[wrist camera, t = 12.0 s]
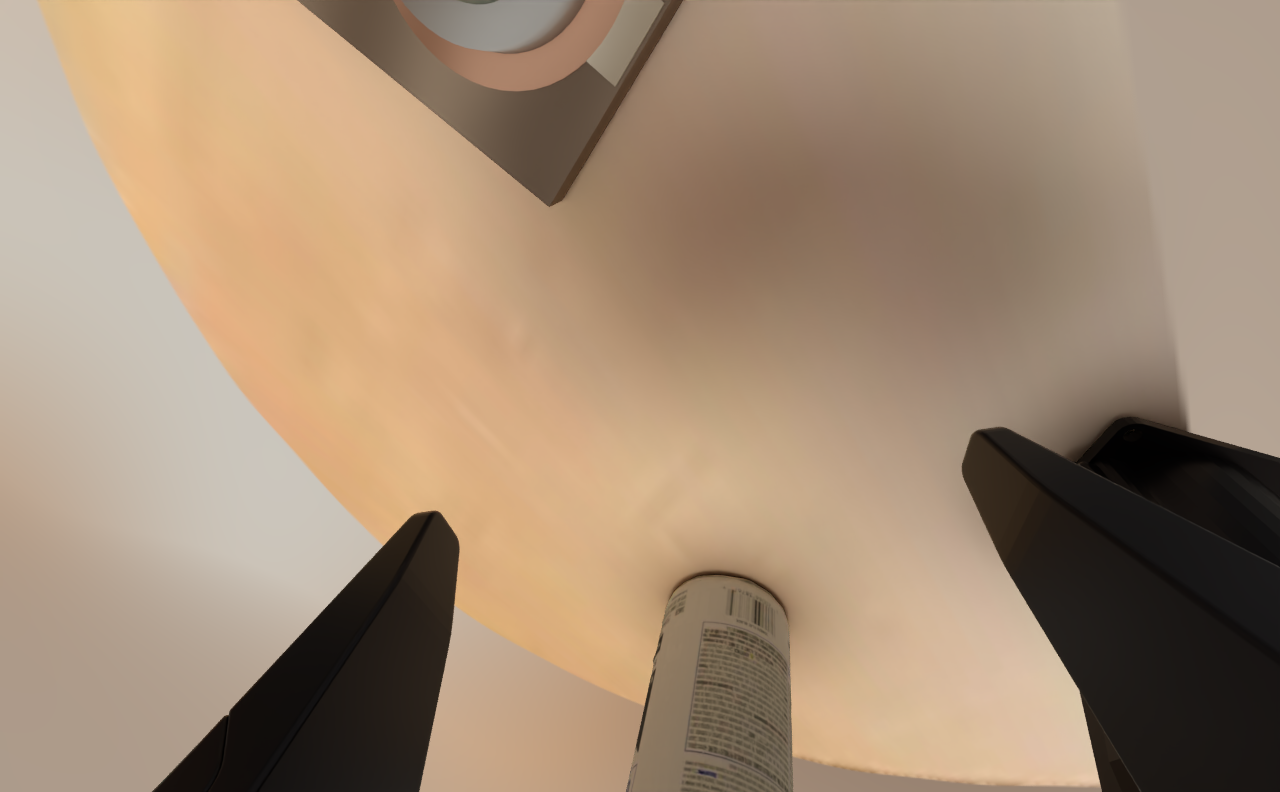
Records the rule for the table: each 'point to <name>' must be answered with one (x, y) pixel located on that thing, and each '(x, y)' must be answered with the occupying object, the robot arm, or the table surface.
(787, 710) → the spray can
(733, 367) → the table surface
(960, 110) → the table surface
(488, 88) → the digital kitchen scale
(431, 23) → the ring stacking peg
